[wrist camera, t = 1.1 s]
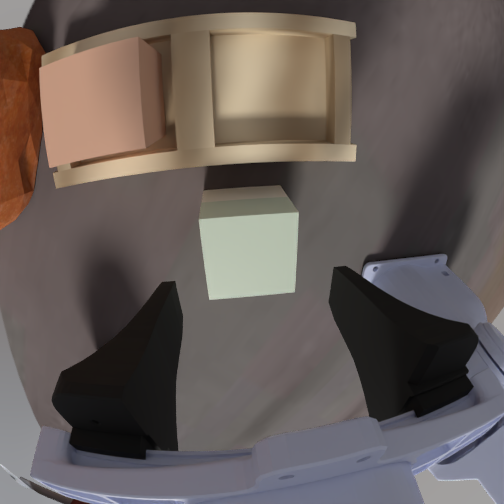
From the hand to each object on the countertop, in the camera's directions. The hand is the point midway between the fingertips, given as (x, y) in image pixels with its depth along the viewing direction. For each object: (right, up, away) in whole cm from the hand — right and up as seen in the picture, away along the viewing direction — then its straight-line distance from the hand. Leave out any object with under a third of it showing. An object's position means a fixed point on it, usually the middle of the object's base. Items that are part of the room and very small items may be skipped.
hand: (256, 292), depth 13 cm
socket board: (-4, +11, +2) cm, 12 cm away
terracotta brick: (-8, +11, +1) cm, 13 cm away
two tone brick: (-1, +4, +7) cm, 8 cm away
